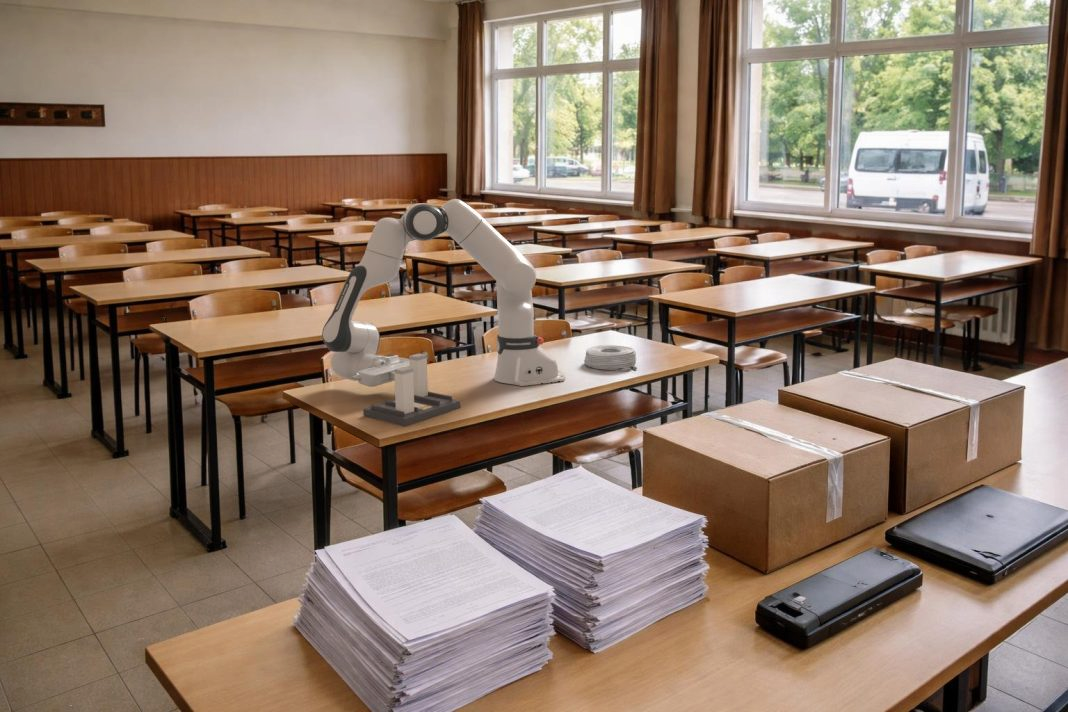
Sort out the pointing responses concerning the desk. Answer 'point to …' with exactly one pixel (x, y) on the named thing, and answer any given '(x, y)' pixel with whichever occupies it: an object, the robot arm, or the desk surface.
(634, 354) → the cable
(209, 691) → the desk surface
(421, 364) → the tall white block
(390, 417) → the fixture base
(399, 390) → the white rectangular block
